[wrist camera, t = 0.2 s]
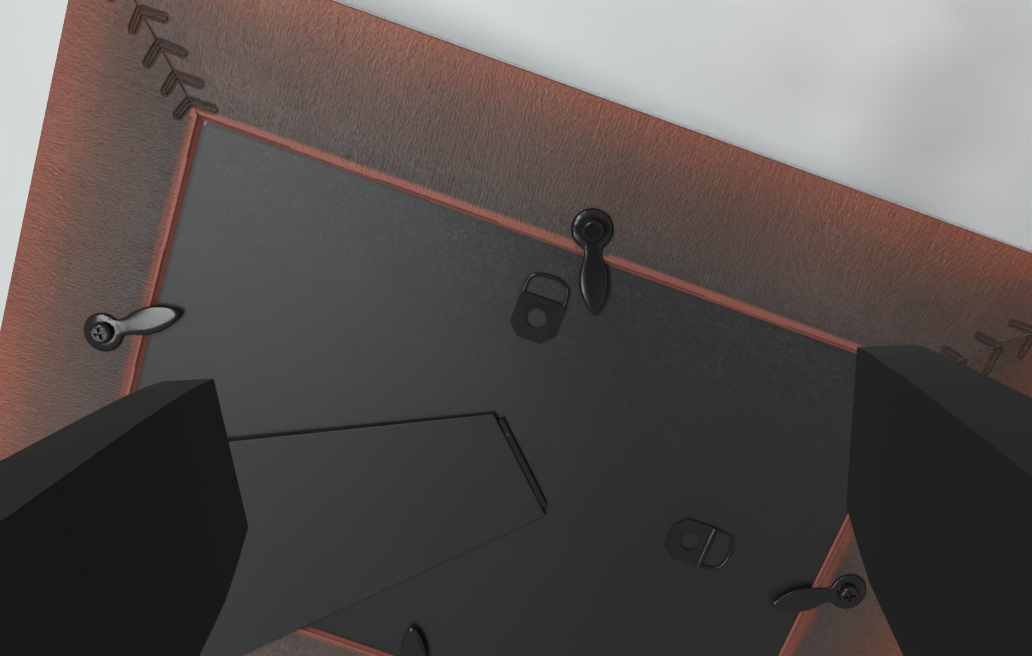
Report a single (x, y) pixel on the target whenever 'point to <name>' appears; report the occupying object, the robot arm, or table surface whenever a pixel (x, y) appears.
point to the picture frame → (477, 335)
